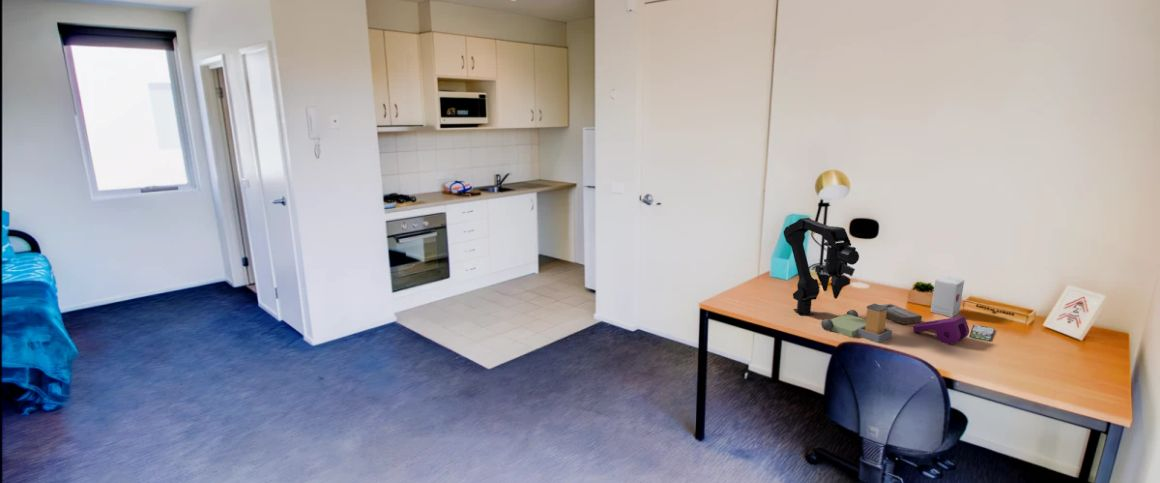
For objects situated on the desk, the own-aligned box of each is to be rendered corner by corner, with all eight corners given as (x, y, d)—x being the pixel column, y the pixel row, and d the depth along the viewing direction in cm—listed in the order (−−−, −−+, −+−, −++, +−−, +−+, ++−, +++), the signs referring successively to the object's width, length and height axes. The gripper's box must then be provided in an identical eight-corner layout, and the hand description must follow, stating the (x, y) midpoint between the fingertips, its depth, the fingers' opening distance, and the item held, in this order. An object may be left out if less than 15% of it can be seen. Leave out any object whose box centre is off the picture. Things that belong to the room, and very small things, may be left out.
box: (901, 325, 253) (902, 318, 252) (870, 311, 269) (871, 305, 269) (922, 323, 256) (923, 315, 255) (890, 309, 272) (891, 303, 272)
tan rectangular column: (862, 335, 243) (866, 306, 240) (871, 332, 247) (874, 303, 243) (876, 340, 239) (880, 310, 236) (884, 337, 242) (888, 307, 239)
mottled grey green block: (968, 336, 241) (973, 324, 252) (968, 339, 241) (973, 326, 252) (991, 341, 236) (994, 328, 248) (990, 344, 237) (994, 330, 248)
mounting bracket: (914, 348, 246) (960, 343, 231) (907, 327, 247) (953, 321, 232) (926, 342, 251) (972, 337, 236) (919, 322, 252) (964, 316, 237)
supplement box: (952, 317, 261) (957, 284, 258) (929, 312, 268) (934, 279, 264) (960, 312, 267) (965, 279, 263) (937, 307, 274) (942, 275, 270)
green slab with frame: (820, 328, 251) (821, 318, 250) (848, 318, 262) (849, 308, 261) (871, 346, 234) (872, 335, 233) (898, 334, 244) (899, 324, 243)
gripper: (865, 264, 240) (860, 301, 244) (841, 251, 258) (838, 286, 262) (837, 264, 239) (833, 302, 243) (816, 252, 257) (812, 287, 261)
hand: (830, 294), depth 252 cm, fingers open, 9 cm apart
